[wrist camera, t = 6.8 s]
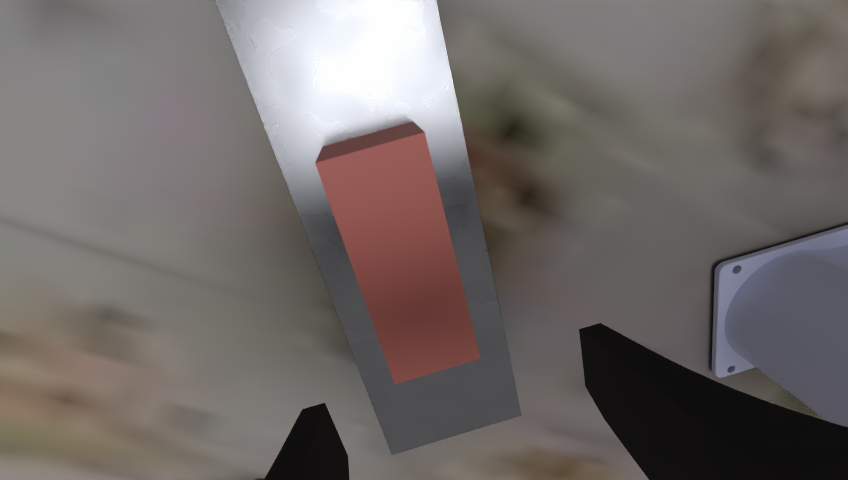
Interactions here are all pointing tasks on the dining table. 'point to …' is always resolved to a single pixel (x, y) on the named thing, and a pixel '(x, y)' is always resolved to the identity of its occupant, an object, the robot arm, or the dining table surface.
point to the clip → (400, 248)
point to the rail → (359, 115)
